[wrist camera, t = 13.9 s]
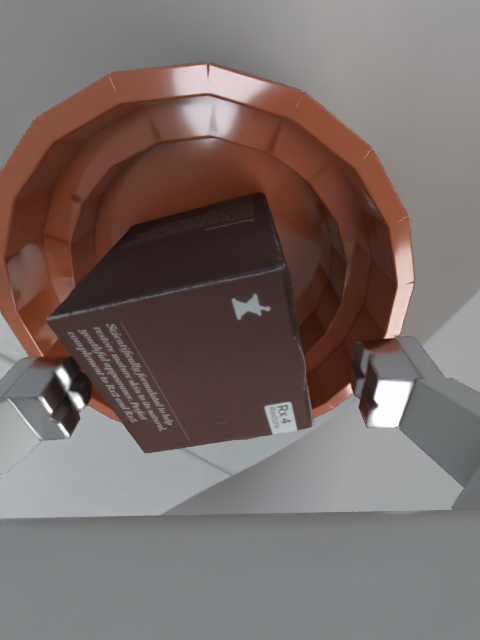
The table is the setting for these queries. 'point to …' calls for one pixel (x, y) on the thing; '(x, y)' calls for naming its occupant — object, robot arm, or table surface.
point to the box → (193, 329)
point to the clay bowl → (206, 203)
